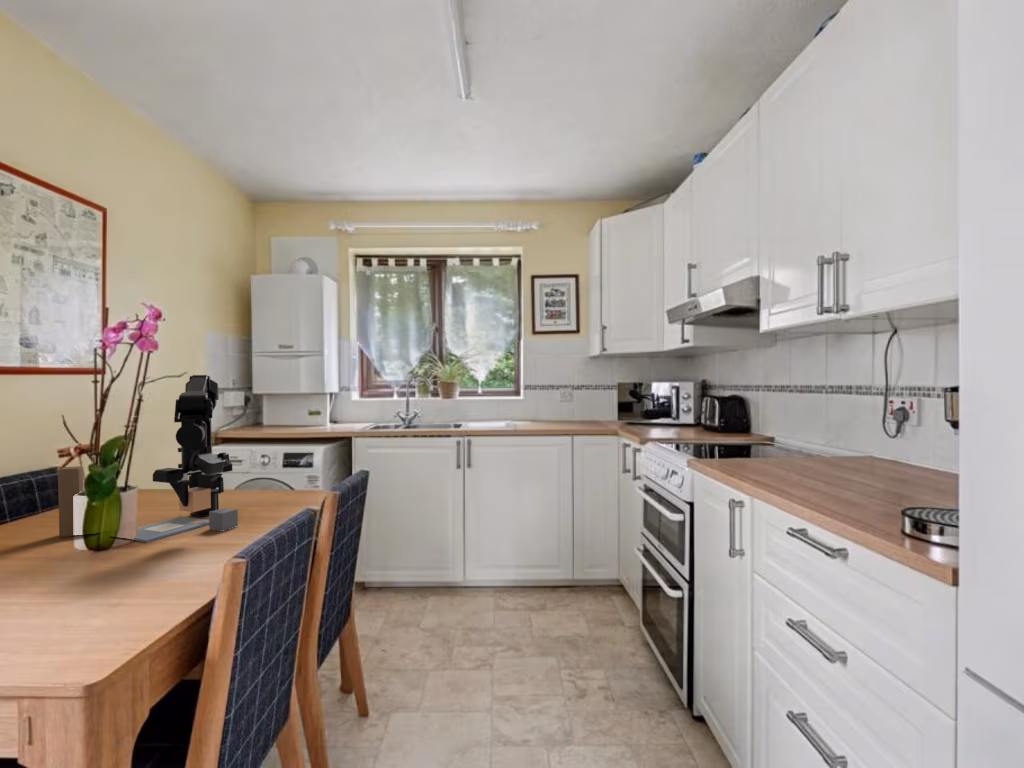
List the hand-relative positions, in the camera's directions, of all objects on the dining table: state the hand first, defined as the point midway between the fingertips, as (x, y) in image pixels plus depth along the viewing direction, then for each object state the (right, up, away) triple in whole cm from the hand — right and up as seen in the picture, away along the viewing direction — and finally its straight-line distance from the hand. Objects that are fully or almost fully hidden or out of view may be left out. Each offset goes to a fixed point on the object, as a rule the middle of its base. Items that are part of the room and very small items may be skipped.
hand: (195, 504), depth 144 cm
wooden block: (-34, -10, +7) cm, 36 cm away
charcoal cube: (+1, -9, +12) cm, 15 cm away
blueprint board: (-14, -9, +10) cm, 20 cm away
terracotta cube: (0, -1, 0) cm, 1 cm away
